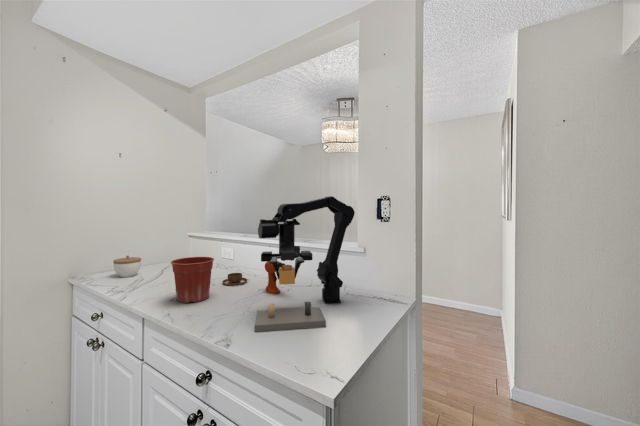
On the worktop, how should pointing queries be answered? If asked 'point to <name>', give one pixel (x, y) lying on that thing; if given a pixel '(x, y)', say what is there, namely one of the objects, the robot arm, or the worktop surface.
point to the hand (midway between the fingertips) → (286, 278)
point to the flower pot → (192, 278)
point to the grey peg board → (289, 318)
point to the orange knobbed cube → (286, 274)
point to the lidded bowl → (127, 266)
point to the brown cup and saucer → (234, 279)
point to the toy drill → (272, 278)
